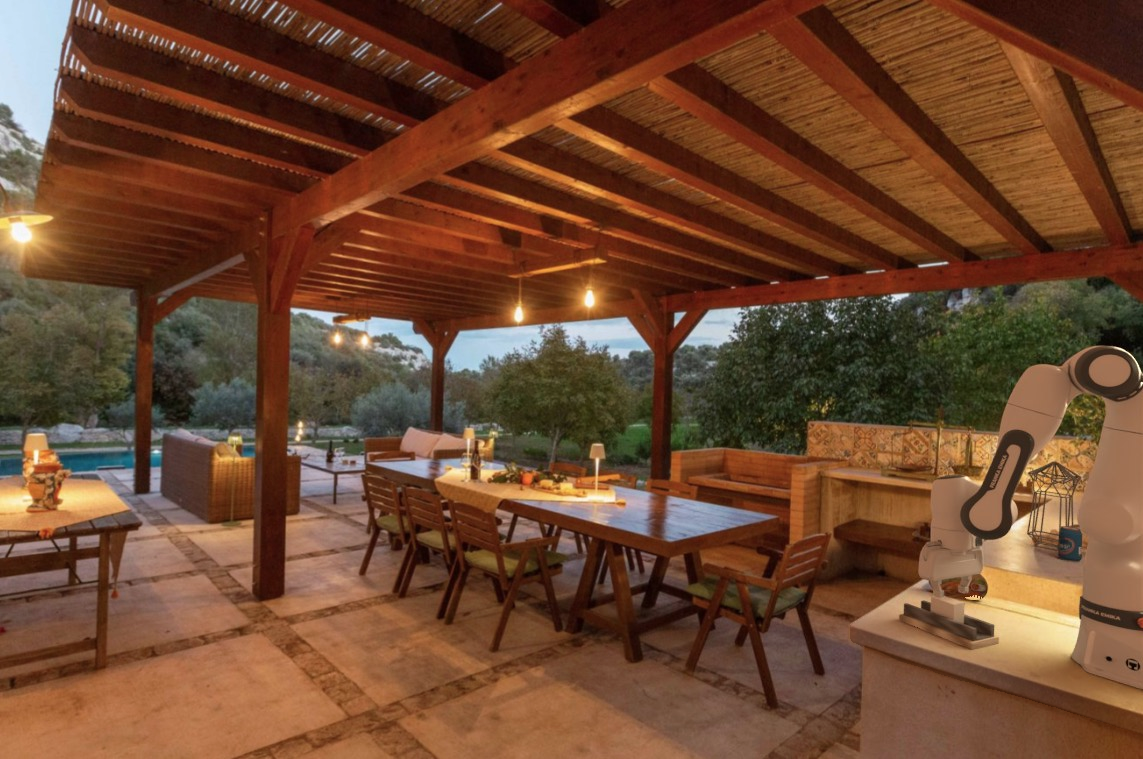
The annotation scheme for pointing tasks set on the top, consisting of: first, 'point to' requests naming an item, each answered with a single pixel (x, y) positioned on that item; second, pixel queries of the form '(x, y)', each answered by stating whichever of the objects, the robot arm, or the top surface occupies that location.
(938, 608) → the block
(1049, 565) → the top surface
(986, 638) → the rail board
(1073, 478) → the geometric lantern
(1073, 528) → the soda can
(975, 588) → the tin
